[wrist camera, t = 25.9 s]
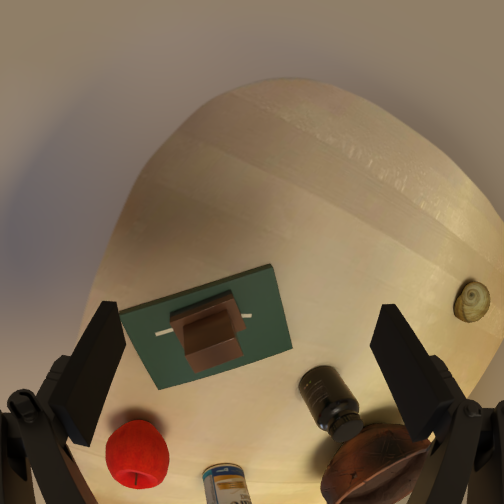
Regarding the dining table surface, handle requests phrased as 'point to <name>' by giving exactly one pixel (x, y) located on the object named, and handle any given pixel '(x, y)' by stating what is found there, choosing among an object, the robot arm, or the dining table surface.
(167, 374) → the chalkboard
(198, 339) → the duster
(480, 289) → the seashell
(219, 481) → the beverage bottle
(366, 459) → the bowl
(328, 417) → the supplement bottle
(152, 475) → the apple
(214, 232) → the dining table surface
